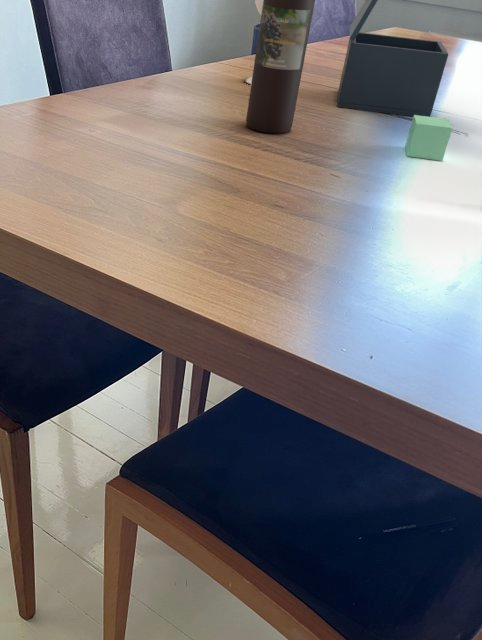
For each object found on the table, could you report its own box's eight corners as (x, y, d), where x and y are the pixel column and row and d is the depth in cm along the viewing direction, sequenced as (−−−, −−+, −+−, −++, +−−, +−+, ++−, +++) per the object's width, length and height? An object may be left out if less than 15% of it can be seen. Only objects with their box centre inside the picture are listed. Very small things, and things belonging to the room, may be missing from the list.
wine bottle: (236, 126, 111) (271, -124, 93) (261, 119, 116) (299, -121, 97) (275, 137, 108) (319, -120, 89) (299, 129, 112) (346, -117, 94)
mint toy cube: (439, 151, 108) (449, 119, 105) (442, 161, 104) (452, 127, 101) (404, 146, 109) (413, 114, 106) (406, 156, 105) (416, 123, 102)
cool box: (424, 102, 133) (441, 41, 127) (429, 118, 124) (448, 54, 118) (338, 91, 135) (351, 31, 129) (337, 106, 126) (351, 42, 120)
